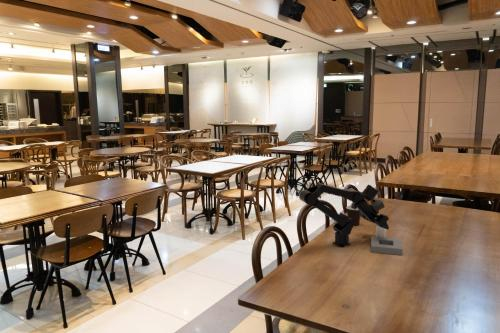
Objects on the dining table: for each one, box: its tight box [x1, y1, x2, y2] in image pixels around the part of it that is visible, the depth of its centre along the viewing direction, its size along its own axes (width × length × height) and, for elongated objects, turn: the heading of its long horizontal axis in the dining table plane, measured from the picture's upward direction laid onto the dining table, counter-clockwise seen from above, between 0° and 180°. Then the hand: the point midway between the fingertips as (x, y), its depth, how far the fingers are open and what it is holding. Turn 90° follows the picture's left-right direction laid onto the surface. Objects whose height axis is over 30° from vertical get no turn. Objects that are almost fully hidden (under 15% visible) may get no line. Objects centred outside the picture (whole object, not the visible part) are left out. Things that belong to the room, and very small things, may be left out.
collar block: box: [370, 236, 403, 256], centre depth 184 cm, size 14×14×3 cm
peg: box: [375, 224, 387, 238], centre depth 195 cm, size 5×5×12 cm
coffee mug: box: [345, 205, 361, 227], centre depth 222 cm, size 12×9×10 cm
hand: (383, 226), depth 195 cm, fingers open, 9 cm apart
